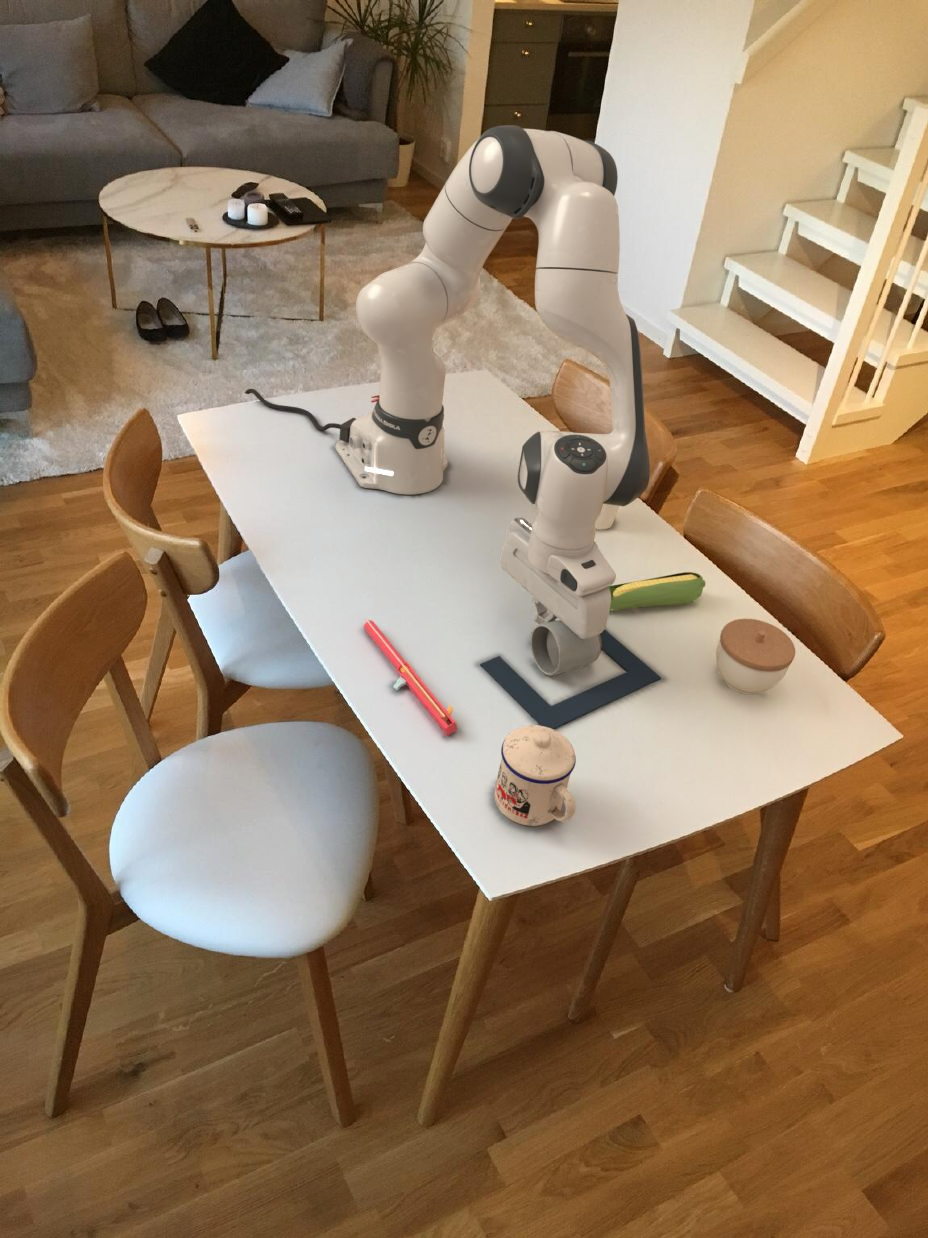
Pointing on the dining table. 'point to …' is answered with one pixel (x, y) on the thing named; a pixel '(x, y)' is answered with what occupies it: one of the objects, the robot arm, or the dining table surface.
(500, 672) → the dark grey flat piece
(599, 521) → the white faceted cylinder
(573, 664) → the ceramic mug
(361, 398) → the dining table surface
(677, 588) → the edible corn
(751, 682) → the trinket box
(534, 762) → the teacup with lid
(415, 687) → the red striped bar
